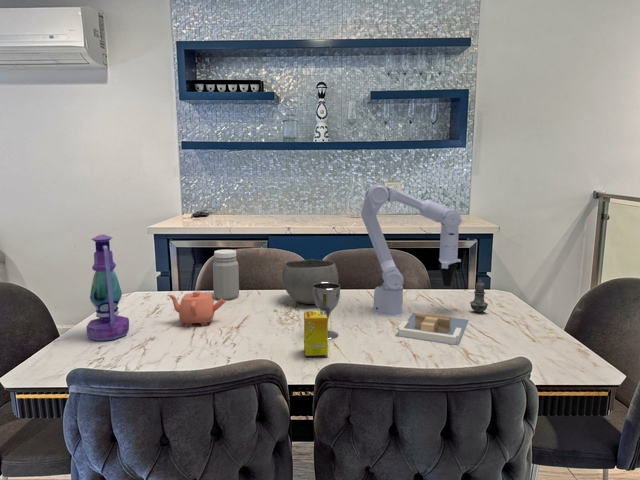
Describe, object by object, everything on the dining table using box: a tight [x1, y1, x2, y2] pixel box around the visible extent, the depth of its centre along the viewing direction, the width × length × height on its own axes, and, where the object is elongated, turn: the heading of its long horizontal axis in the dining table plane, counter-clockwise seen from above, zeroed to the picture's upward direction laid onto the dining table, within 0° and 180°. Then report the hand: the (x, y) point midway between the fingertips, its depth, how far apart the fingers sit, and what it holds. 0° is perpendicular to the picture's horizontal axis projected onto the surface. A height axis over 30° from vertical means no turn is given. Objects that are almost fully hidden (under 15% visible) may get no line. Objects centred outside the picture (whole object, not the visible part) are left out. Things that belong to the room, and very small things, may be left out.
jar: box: [212, 248, 240, 301], centre depth 172 cm, size 10×10×18 cm
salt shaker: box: [469, 279, 489, 314], centre depth 152 cm, size 6×6×12 cm
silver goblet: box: [313, 282, 341, 340], centre depth 132 cm, size 8×8×15 cm
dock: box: [397, 319, 462, 345], centre depth 131 cm, size 17×8×2 cm, turn 66°
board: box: [394, 312, 470, 346], centre depth 138 cm, size 18×24×1 cm
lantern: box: [86, 233, 130, 342], centre depth 130 cm, size 13×12×30 cm
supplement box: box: [303, 310, 329, 359], centre depth 119 cm, size 6×6×11 cm
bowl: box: [282, 258, 339, 305], centre depth 166 cm, size 20×20×15 cm
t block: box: [415, 311, 452, 333], centre depth 133 cm, size 10×10×4 cm
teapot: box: [167, 290, 226, 327], centre depth 143 cm, size 14×12×10 cm
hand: (447, 285), depth 151 cm, fingers closed
